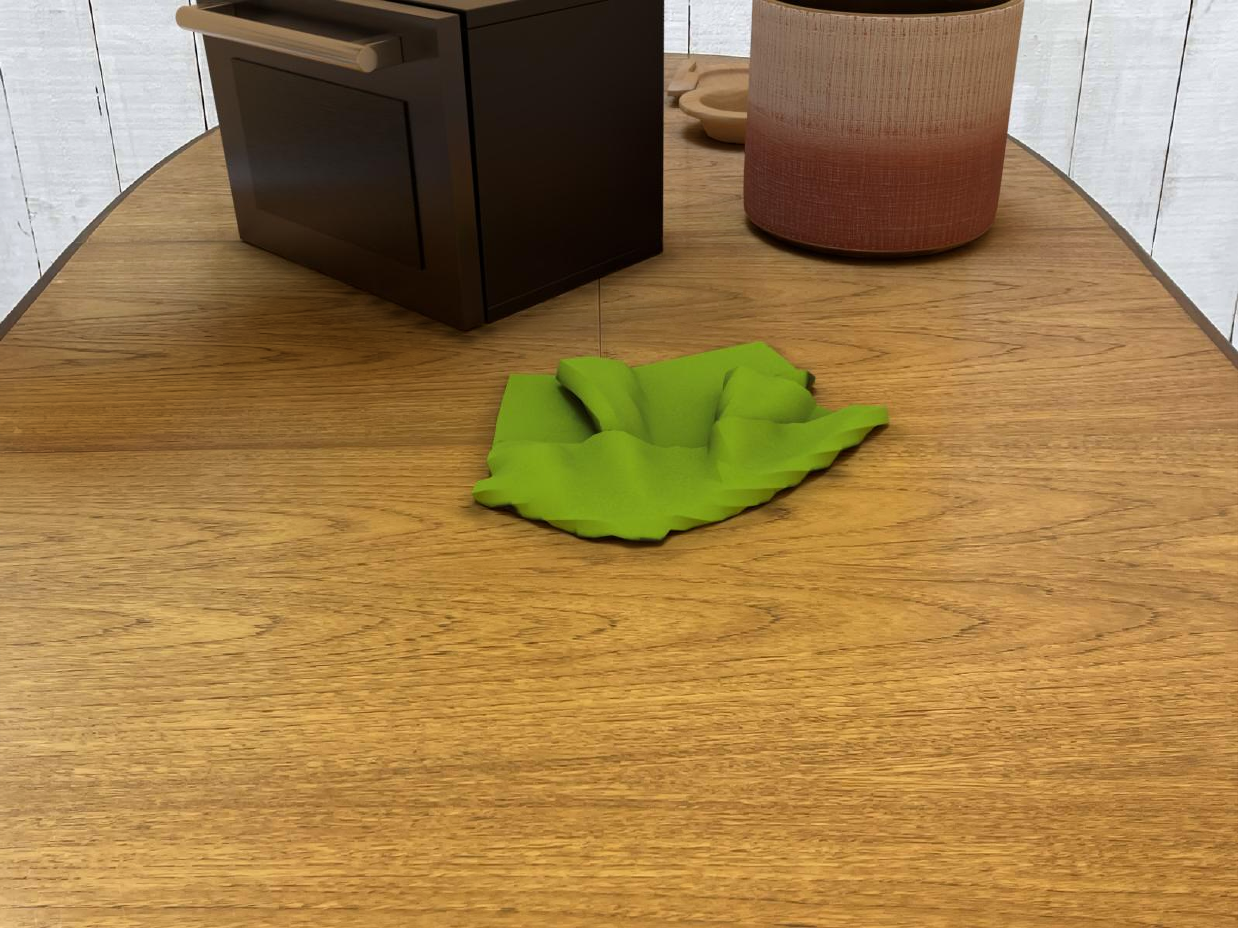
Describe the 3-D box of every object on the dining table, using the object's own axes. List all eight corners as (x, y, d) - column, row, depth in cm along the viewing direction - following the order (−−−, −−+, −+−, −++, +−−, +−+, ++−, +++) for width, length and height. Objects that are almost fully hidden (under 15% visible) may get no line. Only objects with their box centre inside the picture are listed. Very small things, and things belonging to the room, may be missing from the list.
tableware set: (449, 163, 104) (445, 114, 102) (473, 79, 129) (470, 38, 127) (871, 153, 104) (875, 104, 102) (812, 72, 130) (815, 31, 128)
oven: (488, 323, 75) (466, 10, 66) (262, 234, 90) (218, -35, 80) (663, 251, 85) (665, -29, 76) (435, 181, 100) (413, -63, 91)
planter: (1000, 194, 95) (1032, -27, 87) (986, 278, 80) (1022, 22, 72) (769, 175, 100) (779, -36, 92) (716, 252, 85) (722, 9, 77)
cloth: (425, 530, 56) (420, 483, 55) (536, 330, 74) (534, 292, 73) (893, 570, 53) (898, 522, 51) (887, 350, 71) (890, 311, 70)
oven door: (423, 349, 72) (387, 30, 63) (199, 251, 86) (143, -21, 77) (485, 322, 75) (460, 14, 66) (258, 232, 89) (212, -32, 80)
